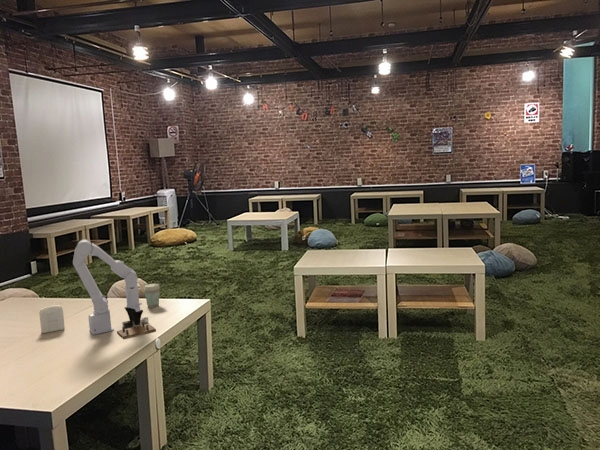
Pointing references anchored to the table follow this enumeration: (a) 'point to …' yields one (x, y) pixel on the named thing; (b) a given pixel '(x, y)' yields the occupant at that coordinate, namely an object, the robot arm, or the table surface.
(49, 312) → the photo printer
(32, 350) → the table surface
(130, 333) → the tool board
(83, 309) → the table surface
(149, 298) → the coffee cup
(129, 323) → the lever door handle
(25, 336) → the table surface
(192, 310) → the table surface
